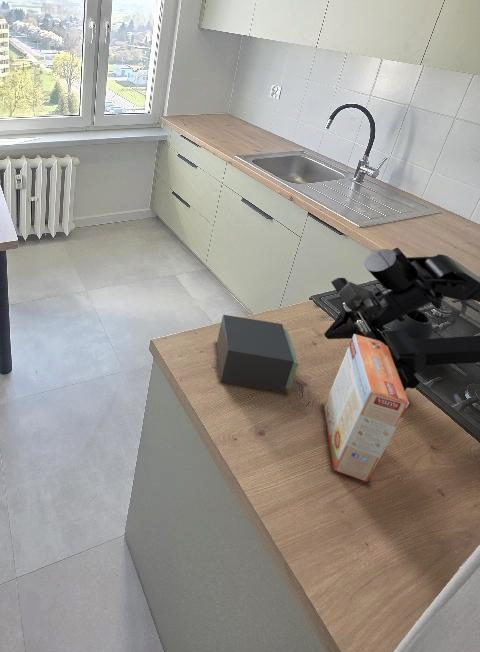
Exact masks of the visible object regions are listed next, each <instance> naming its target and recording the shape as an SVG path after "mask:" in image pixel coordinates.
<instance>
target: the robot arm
mask: <svg viewBox="0 0 480 652" xmlns="http://www.w3.org/2000/svg"><path fill="white" fill-rule="evenodd" d="M363 264H364V267H365V269H366V270H367V271H368V273H370V274H371V275H372V276H373V278H375V280H377V282H378V283H379V284H380V285H381V286H382V287H383V289H380V287H378V286H377V287H373V288H370V289H367V288H365V287H364V286H362V285H359V284H356V283H354V282H351V281H349V280H347V278H346V277H337V278H334V279H333V280H331V285H332V286H333V289H335V291H336V292H337V293H338V295H339V297H341V299H342V300H343V302H342V301H340V302H339V305H340V309H339V310H340V312H339V314H338V316H337V317H336V318H335V320H333V321H334V322H332V323H331V325H330V326H329V327H328V328H327V330H326V331H325V332H324V333H323V335H324V336H325V338H326V339H327V340H346V339H349V340H351V339H352V337H353V335H354V334H356V335H360V336H363V337H367V338H371V339H375V340H379V341H381V342H382V343H384V344H385V345H386V346H388V348H389V351H390V354H391V356H392V359H393V362H394V365H395V367H396V370H397V373H398V375H399V378H400V381H401V383H402V386H403V388H404V391H405V392H406V390H407V389H415V388H417V386H419V385H420V382H421V381H420V380H419V378H418V377H417V375H416V374H417V373H418V372H419V371H421V370H422V369H424V368H425V367H426V366H437V365H438V366H439V365H457V364H458V365H459V364H460V365H461V364H478V363H480V335H467V336H465V335H464V336H452V337H451V336H449V337H437V338H435V337H434V338H429V339H414V338H411V337H409V335H408V334H407V332H406V331H405V330H395V331H389V330H387V329H386V327H385V326H386V325H388V324H390V323H392V321H394V320H396V319H398V320H399V321H400V322H402V321H404V320H405V318H404V317H403V316H404V315H406V314H408V313H410V312H412V311H414V310H416V309H420V308H423V307H424V306H426V305H428V304H432V305H433V307H434V308H435V309H437V310H441V308H442V307H441V306H442V300H443V298H444V297H446V298H449V299H453V300H457V301H461V302H464V301H474V302H478V303H480V276H479V275H477V274H476V273H474V272H472V271H471V270H470V269H468V268H467V267H465V266H464V265H462V264H461V263H460V262H459V261H457V260H455V259H453V258H452V257H450V256H449V255H446V254H437V255H434V256H412V257H411V256H410V257H409V256H406V255H405V253H403V251H402V250H401V249H400V248H399V247H395V248H393V249H388V248H383V249H378V250H377V249H375V250H374V251H372V252H370V253H369V254H368V255H367V257H366V258H365V259H364V263H363Z"/></svg>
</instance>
